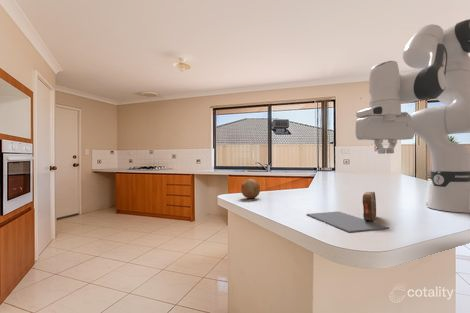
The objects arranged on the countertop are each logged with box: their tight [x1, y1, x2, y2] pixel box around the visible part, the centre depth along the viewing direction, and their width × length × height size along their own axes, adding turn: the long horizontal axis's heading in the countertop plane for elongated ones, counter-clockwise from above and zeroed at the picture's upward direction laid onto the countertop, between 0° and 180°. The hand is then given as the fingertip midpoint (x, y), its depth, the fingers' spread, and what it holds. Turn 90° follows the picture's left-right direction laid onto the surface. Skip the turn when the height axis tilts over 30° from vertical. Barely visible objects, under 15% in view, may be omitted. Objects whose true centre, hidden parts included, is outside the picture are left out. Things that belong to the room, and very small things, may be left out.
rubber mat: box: [306, 211, 390, 233], centre depth 79 cm, size 13×22×1 cm, turn 14°
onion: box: [240, 178, 261, 199], centre depth 127 cm, size 10×10×10 cm
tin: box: [362, 191, 377, 223], centre depth 80 cm, size 15×3×8 cm, turn 147°
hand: (385, 153), depth 82 cm, fingers closed
